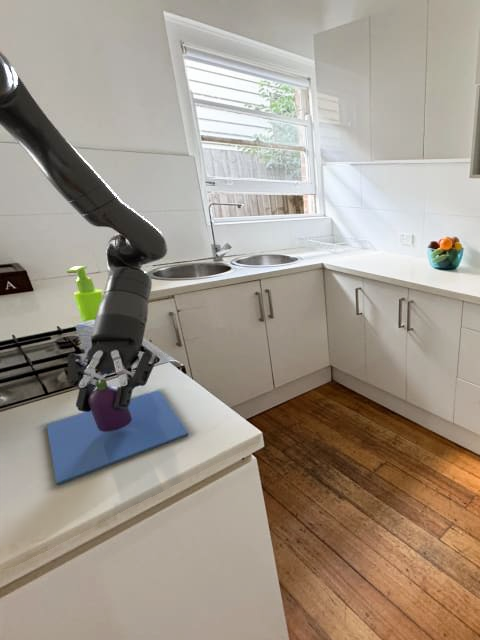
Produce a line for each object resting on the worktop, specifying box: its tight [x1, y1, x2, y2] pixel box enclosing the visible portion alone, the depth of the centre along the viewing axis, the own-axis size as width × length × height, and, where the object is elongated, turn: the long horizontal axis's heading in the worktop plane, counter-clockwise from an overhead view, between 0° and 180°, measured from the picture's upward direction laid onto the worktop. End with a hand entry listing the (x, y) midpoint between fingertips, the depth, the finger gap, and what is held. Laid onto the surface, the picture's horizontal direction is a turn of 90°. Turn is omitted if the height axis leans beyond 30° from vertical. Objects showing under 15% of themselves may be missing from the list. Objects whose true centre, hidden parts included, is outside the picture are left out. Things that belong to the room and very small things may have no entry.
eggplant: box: [88, 379, 132, 432], centre depth 67 cm, size 5×5×9 cm
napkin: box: [46, 390, 189, 486], centre depth 69 cm, size 20×18×1 cm
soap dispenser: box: [66, 265, 104, 323], centre depth 103 cm, size 6×7×20 cm
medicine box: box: [75, 320, 95, 353], centre depth 95 cm, size 8×4×9 cm, turn 77°
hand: (102, 409), depth 66 cm, fingers closed on eggplant, 5 cm apart
